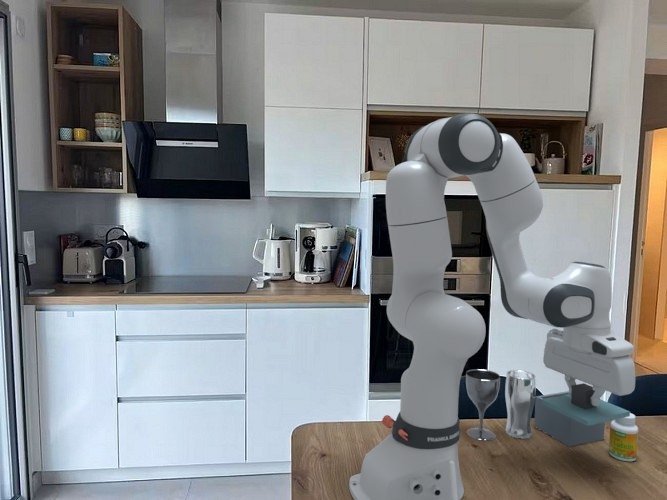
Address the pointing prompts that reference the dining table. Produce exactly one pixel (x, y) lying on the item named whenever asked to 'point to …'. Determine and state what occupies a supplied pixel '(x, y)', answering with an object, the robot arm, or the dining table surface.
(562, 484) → the dining table surface
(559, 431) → the storage box
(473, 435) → the wine glass
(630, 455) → the supplement bottle
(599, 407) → the lid
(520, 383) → the beer glass
